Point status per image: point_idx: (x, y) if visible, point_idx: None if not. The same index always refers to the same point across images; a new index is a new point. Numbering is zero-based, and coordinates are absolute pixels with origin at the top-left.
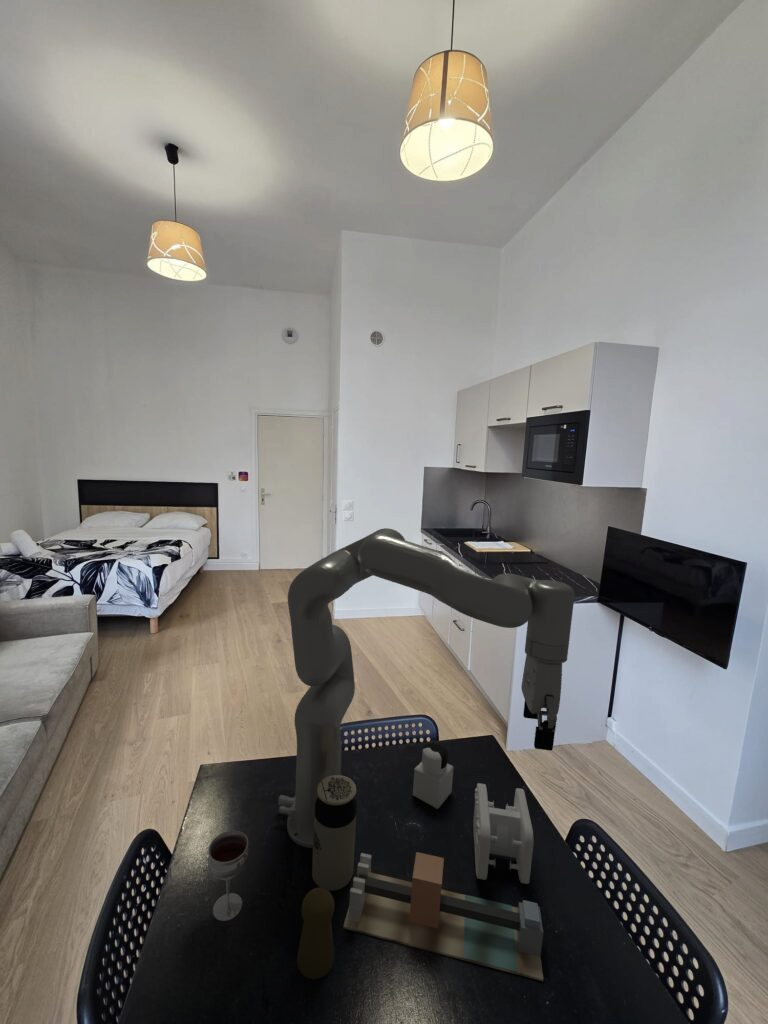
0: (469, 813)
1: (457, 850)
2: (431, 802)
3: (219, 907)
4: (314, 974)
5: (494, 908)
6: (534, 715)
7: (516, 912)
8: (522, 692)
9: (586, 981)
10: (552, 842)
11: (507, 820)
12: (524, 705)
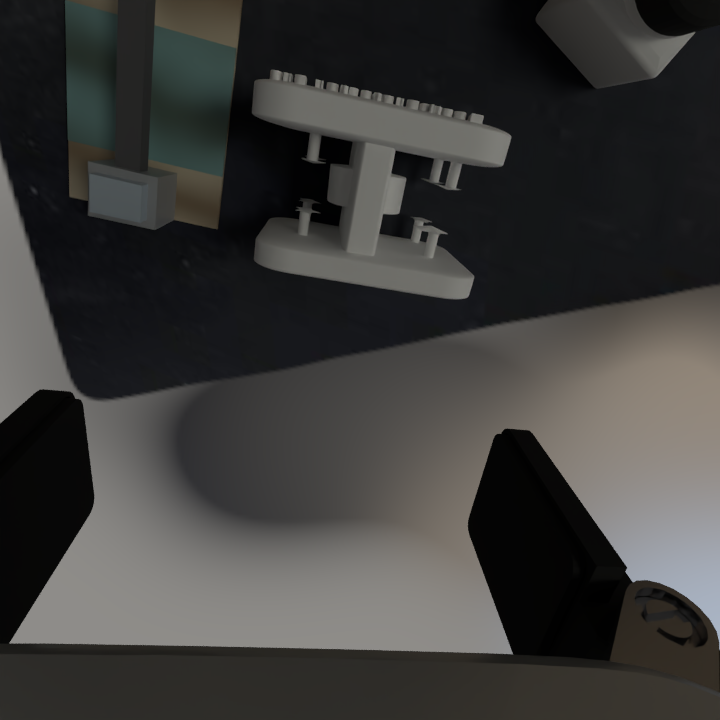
0: None
1: (380, 60)
2: None
3: None
4: None
5: (139, 103)
6: (484, 515)
7: (207, 183)
8: (583, 673)
9: (95, 285)
10: (404, 335)
11: (348, 207)
12: (566, 497)
